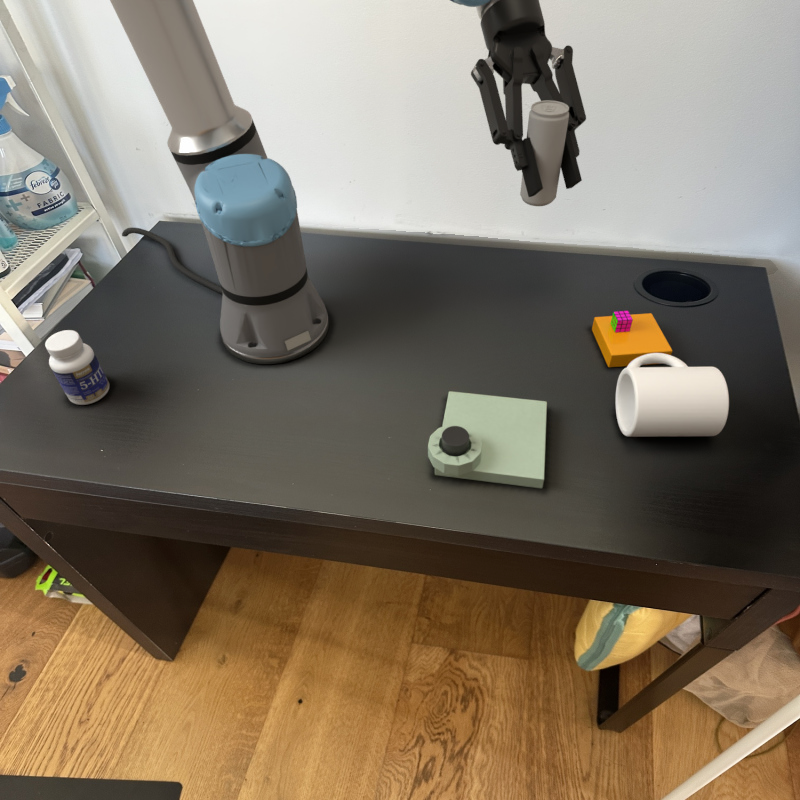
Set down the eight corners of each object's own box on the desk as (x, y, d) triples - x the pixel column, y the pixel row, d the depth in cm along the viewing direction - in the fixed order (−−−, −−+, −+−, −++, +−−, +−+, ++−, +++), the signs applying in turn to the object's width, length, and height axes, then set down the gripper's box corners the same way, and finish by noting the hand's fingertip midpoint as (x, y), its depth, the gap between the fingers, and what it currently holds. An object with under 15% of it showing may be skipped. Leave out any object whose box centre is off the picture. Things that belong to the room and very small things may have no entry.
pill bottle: (94, 409, 80) (65, 357, 74) (60, 402, 82) (29, 350, 75) (118, 381, 84) (93, 329, 78) (85, 375, 85) (57, 323, 79)
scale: (425, 480, 70) (424, 461, 68) (441, 399, 79) (441, 379, 77) (541, 495, 68) (546, 476, 66) (545, 410, 77) (548, 390, 75)
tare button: (439, 454, 69) (439, 444, 68) (443, 434, 71) (443, 424, 70) (467, 458, 68) (467, 447, 67) (470, 437, 70) (470, 427, 69)
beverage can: (558, 193, 85) (572, 101, 77) (552, 210, 82) (567, 116, 74) (523, 188, 87) (533, 98, 78) (516, 205, 83) (526, 113, 75)
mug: (713, 450, 72) (737, 401, 66) (625, 450, 72) (641, 402, 67) (683, 378, 80) (702, 329, 75) (604, 379, 81) (617, 331, 75)
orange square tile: (647, 325, 88) (655, 300, 85) (668, 363, 82) (677, 338, 79) (591, 329, 88) (596, 304, 85) (608, 367, 82) (614, 343, 79)
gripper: (556, 18, 85) (600, 186, 85) (434, 36, 81) (481, 212, 81) (585, -20, 77) (632, 164, 78) (452, -2, 73) (503, 191, 74)
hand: (555, 188), depth 80 cm, fingers closed on beverage can, 5 cm apart
